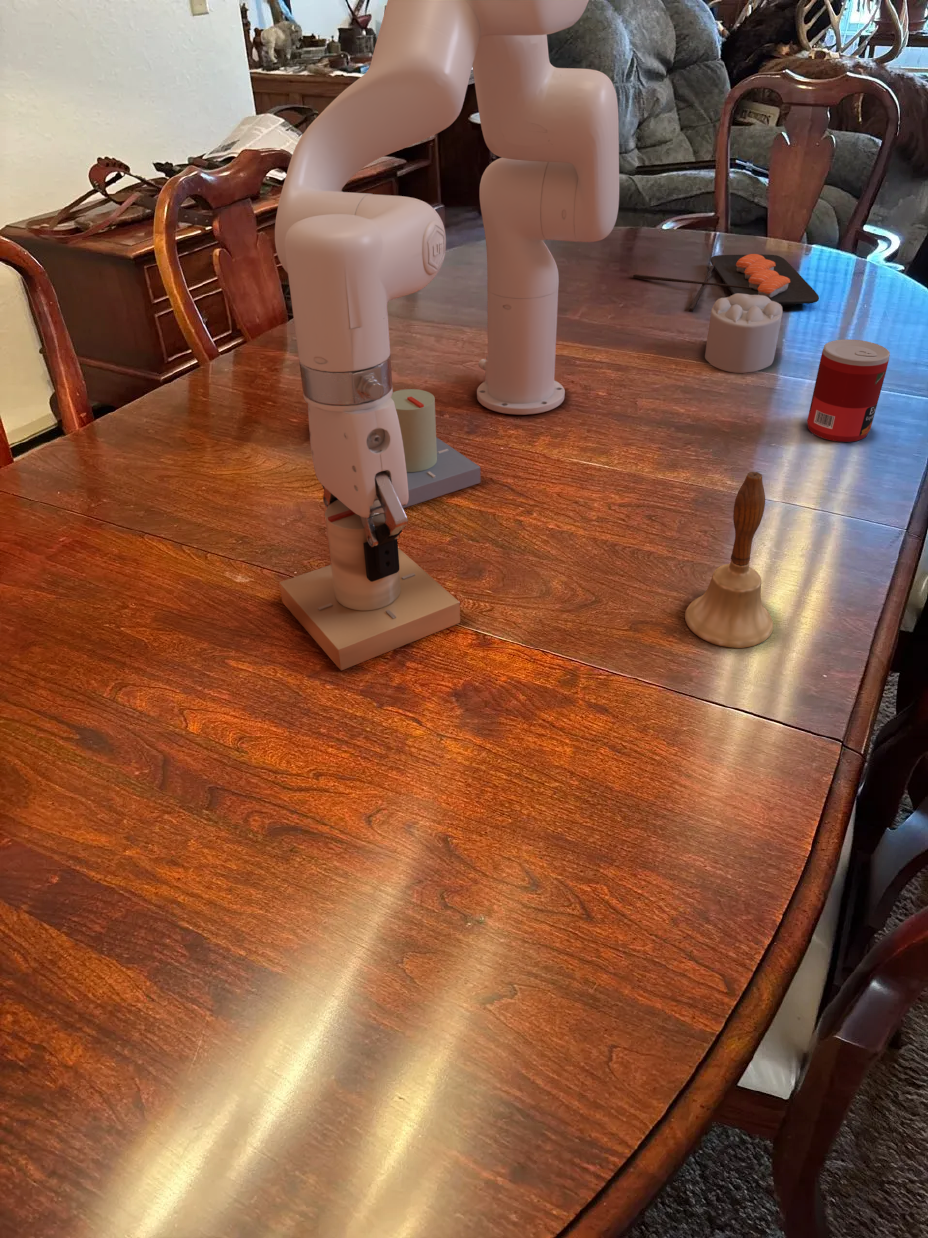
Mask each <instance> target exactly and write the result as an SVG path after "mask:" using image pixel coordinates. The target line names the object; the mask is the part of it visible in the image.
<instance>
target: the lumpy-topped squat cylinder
mask: <svg viewBox="0 0 928 1238" xmlns="http://www.w3.org/2000/svg"><path fill="white" fill-rule="evenodd" d="M782 318H783V307H782V306H781V304H779V303H777V302H774V301H771V300H770V299H769V298H768V297H766V296H763V295H748V294H740V293H737V294H734V295H733V294H732V295H730V296H727V297H720V298H718V299H717V300H716V301H715V302H714V304H713V305H712V308H711V311H710V318H709V324H708V331H707V338H706V346H705V351H704V352H705V353H704V359H705V360H706V362H708V363H709V364H710V365H711V366H713V367H714V368H717V369H719V370H722V371H725V372H729V373H736V374H737V373H738V374H742V373H746V374H747V373H753V372H758V371H761V370H763V369H766V368H768V367H770V366H771V365H772V364H773V363H774V360H775V356H776V350H777V345H778V341H779V334H780V329H781V323H782Z"/></svg>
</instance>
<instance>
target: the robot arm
mask: <svg viewBox="0 0 928 1238" xmlns="http://www.w3.org/2000/svg"><path fill="white" fill-rule="evenodd" d="M589 1H590V0H387V2H386V6H385V10H384V13H383V16H382V21H381V24H380V28H379V30H378V35H377V39H376V42H375V45H374V50H373V53H372V58H371V62H370V64H369V67H368V69H367V70H366V72H365V73H364V74H363V75H361V77H359V78H358V79H357V80H355V81H354V82H352V84H350V85H349V86H347V87H346V88H345V89H344V90H343V91H342V92H340V93H339V95H338V96H336V97H335V98H334V99H333V100H332V101H331V102H330V103H329V104H328V105H327V106H326V107H325V108H324V110H322V112H320V114H319V115H317V117H316V118H315V119H314V120H313V121H312V122H311V123H310V124H309V125H308V126H307V128H306V129H305V131H304V132H303V133H302V135H301V136H300V138H299V140H298V142H297V143H296V145H295V147H294V150H293V153H292V155H291V158H290V160H289V164H288V166H287V167H288V168H287V172H286V174H285V178H284V182H283V185H282V188H281V192H280V196H279V200H278V204H277V211H276V217H275V224H274V245H275V251H276V256H277V258H278V261H279V263H280V265H281V267H282V268H283V270H284V271H285V272H286V273H287V276H288V285H289V293H290V300H291V301H290V302H291V310H292V317H293V324H294V331H295V339H296V340H295V341H296V347H297V356H298V363H299V371H300V380H301V389H302V395H303V400H304V402H305V403H306V404H307V413H308V416H307V417H308V430H309V431H308V432H309V442H310V443H309V444H310V451H311V458H312V459H311V460H312V465H313V469H314V470H313V471H314V474H315V477H316V478H317V480H318V483H320V484H321V486H322V489H323V493H322V494H323V495H322V501H323V504H324V506H325V507H326V508H327V507H328V506H329V505H330V504H332V503H333V502H334V501H336V500H340V501H341V502H342V503H343V504H344V505H346V506H347V507H348V508H349V509H350V510H352V511H353V512H354V513H356V514H357V515H359V516H360V517H361V520H362V524H363V527H364V531H365V534H366V538H367V541H368V542H365V543H363V545H364V555H365V566H366V576H367V579H368V580H370V581H371V582H373V581H376V580H379V579H381V578H384V577H387V576H389V575H392V574H395V573H397V572H398V571H399V554H398V548H399V544H398V543H399V541H398V540H399V538H400V537H401V534H402V532H403V530H404V529H405V527H406V526H407V525H408V524H409V519H408V516H407V514H406V512H405V508H403V507H402V506H405V505H407V503H408V499H409V494H408V481H407V472H406V463H405V455H404V447H403V441H402V435H401V429H400V425H399V420H398V415H397V411H396V408H395V404H394V401H393V400H392V399H391V398H390V397H391V396H392V394H393V392H394V386H393V373H392V359H391V344H390V343H391V342H390V341H391V339H390V327H389V313H388V312H389V311H388V302H390V301H393V300H395V299H399V298H403V297H406V296H409V295H412V294H414V293H417V292H419V291H421V290H423V289H424V288H425V287H427V286H428V285H429V284H430V283H431V282H432V281H433V280H434V279H435V277H436V276H437V275H438V273H439V271H440V270H441V268H442V266H443V263H444V260H445V257H446V250H447V236H446V228H445V225H444V222H443V220H442V218H441V216H440V214H439V212H437V211H436V209H435V208H434V207H433V206H432V205H431V204H429V203H428V202H426V201H423V200H421V199H418V198H415V197H410V196H404V195H403V196H402V195H391V194H375V193H374V194H373V193H368V192H367V193H365V192H352V191H351V192H350V191H349V192H348V191H343V188H344V187H345V186H346V184H347V183H348V182H349V181H350V180H351V179H352V178H353V177H354V176H355V175H356V174H357V173H358V172H360V171H362V169H364V168H365V167H367V166H369V165H370V164H372V163H373V162H374V161H377V160H379V159H381V158H383V157H385V156H388V155H391V154H393V153H395V152H397V151H400V150H403V149H406V148H409V147H410V146H413V145H415V144H417V143H421V142H422V141H424V140H426V139H429V138H430V137H432V136H435V135H437V134H439V133H441V132H442V131H445V130H446V129H447V128H449V127H450V126H451V125H452V124H453V123H454V122H455V121H456V120H457V119H458V117H459V116H460V114H461V112H462V109H463V105H464V102H465V98H466V94H467V91H468V85H469V82H470V77H471V73H472V72H473V80H474V89H475V95H476V102H477V109H478V117H479V122H480V127H481V128H480V129H481V131H482V137H483V140H484V143H485V145H486V147H487V148H488V150H489V151H490V152H491V153H492V154H494V155H495V156H497V157H499V158H497V159H495V160H493V161H492V162H491V163H489V165H487V166H486V168H485V170H484V171H483V173H482V175H481V178H480V183H479V205H480V213H481V218H482V224H483V229H484V230H483V231H484V239H485V247H486V248H485V249H486V270H487V271H486V272H487V273H486V274H487V275H486V276H487V277H486V280H487V282H486V283H487V285H486V288H487V299H486V300H487V302H486V303H487V307H486V308H487V355H486V359H485V358H482V359H480V360H479V361H478V364H477V365H478V368H479V369H481V370H483V371H485V381H482V383H481V384H479V385H478V387H477V388H476V399H477V401H478V403H479V404H480V405H482V407H484V408H486V409H487V410H490V411H493V412H496V413H501V414H506V415H517V416H524V415H536V414H537V415H538V414H542V413H545V412H550V411H552V410H554V409H556V408H558V407H559V406H560V405H562V403H563V402H564V400H565V397H566V396H565V394H566V391H565V387H564V385H562V384H561V383H560V382H559V381H557V380H556V379H555V376H556V355H557V354H556V353H557V351H556V350H557V328H558V304H559V283H560V282H559V280H560V279H559V278H560V277H559V276H560V275H559V269H558V266H557V262H556V260H555V258H554V256H553V254H552V252H551V251H550V249H549V248H548V246H547V244H546V243H545V241H558V242H559V241H560V242H561V241H562V242H575V243H595V242H599V241H600V242H601V241H602V240H604V239H605V238H607V237H608V236H609V235H610V234H611V232H613V229H614V227H615V226H616V222H617V218H618V214H619V206H620V142H619V140H620V137H619V135H620V134H619V133H620V127H619V123H620V122H619V106H618V105H619V104H618V95H617V92H616V89H615V85H614V84H613V82H612V80H611V79H610V77H609V76H608V75H607V74H605V73H604V72H602V71H599V70H596V69H591V68H576V67H575V68H571V67H568V68H567V67H556V66H554V65H553V64H551V62H550V56H549V44H548V35H551V34H556V33H559V32H561V31H563V30H566V29H569V28H571V27H573V26H574V25H575V24H576V23H577V22H578V21H579V20H580V19H581V17H582V16H583V14H584V12H585V11H586V8H587V6H588V3H589ZM341 190H342V191H343V192H341ZM377 500H379V502H380V504H381V506H378V507H375V508H372V509H370V506H373V503H374V501H377ZM380 514H384V518H385V523H384V524H382V525H380V526H379V527H378V528H377V529H376V530H375V527H374V524H373V520H372V517H374V516H377V515H380Z"/></svg>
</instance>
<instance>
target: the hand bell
mask: <svg viewBox="0 0 928 1238" xmlns="http://www.w3.org/2000/svg"><path fill="white" fill-rule="evenodd" d="M763 481H764V480H763V474H762V473H760V472H758V471H749V472H748V473H747V474H746V476H745V479H744V481H743V482H742V485H741V486H740V487H739V490H738V491H737V494H736V496H735V500H734V503H733V513H732V514H733V515H732V518H733V519H732V520H733V527H734V534H735V535H734V536H735V537H734V543H733V547H732V551H731V555H730V563H725V564H722V565H719V566H718V567H717V568H716V569H714V571H713V573H712V576H711V578H710V581H709V585H708V586H707V588H706V591H704V593H703V595H700V596H699V597H696V598H695V599H693V601H692V602H691V603H689V605H688V606H687V607H686V610H685V612H684V620H685V623H686V625H687V627H688V628H689V630H690V631H691V632H692V633H693V634H694V635H696V636H697V637H698V638H700V639H701V640H703V641H706V642H707V643H710V644H713V645H715V646H719V647H724V648H734V649H742V648H750V647H754V646H756V645H757V646H758V645H759V644H762V643H763V642H765V641H766V640H767V639H769V638H770V637H771V636H772V633H773V631H774V622H773V618H772V616H771V614H770V612H769V611H768V610H767V608H766V607H765V606H764V605H763V602H762V577H761V575H760V574H759V572H758V571H757V570H756V569H754V568H752V567H750V563H751V562H750V561H751V553H752V545H753V540H754V536H755V534H756V532H757V531H758V528H759V527H760V525H761V523H762V519H763V517H764V513H765V509H766V507H765V506H766V505H765V504H766V493H765V487H764V483H763Z"/></svg>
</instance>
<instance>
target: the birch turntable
mask: <svg viewBox="0 0 928 1238" xmlns="http://www.w3.org/2000/svg"><path fill="white" fill-rule="evenodd" d="M398 554H399V574H400V588H401V590H400V594H399V596H398V597H397V599H396V600H395V601H394V602H392V603H391V604H389V605H387V606H385V607H382V608H379V609H375V610H364V611H363V610H354V609H350V608H347V607H345V606H343V605H341V604H340V603H339V602H338V601H337V599H336V597H335V592H334V584H333V576H332V568H331V564H329V565H325V566H322V567H319V568H316V569H314V570H311V571H308V572H305V573H303V574H300V575H297V576H293V577H291V578H288V579H285V580H282V581H280V582H278V583H279V589H280V595H281V601H282V604H283V605H284V606H285V608H287V610H288V611H289V612H290V613H291V614H292V616H293V617H294V618H295V619H296V620H297V621H298V623H299V624H300V625H301V626H302V627H303V628H304V629H305V631H306V632H307V633H308V634H309V636H310V637H311V638H312V639H313V640H314V642H315V643H316V644H317V645H318V646H319V647H320V648H321V649H322V651H323V652H324V653H325V654H326V656H327V657H328V658H329V659H330V660H331V661H332V663H333V664H335V666H336V667H337V668H338V669H339V670H340V671H341V672H342V671H345V670H347V669H349V668H352V667H354V666H356V665H358V664H361V663H362V664H363V663H364V662H366V661H369V660H371V659H374V658H376V657H379V656H381V655H383V654H384V655H385V654H387V653H389V652H391V651H393V650H396V649H398V648H399V649H400V648H401V647H403V646H405V645H409V644H411V643H413V642H416V641H419V640H421V639H423V638H427V637H428V636H431V635H434V634H437V633H438V632H441V631H443V630H446V629H448V628H451V627H453V626H456V625H458V624H460V623H461V602H460V601H459V600H458V599H457V598H456V597H455V596H453V595H452V594H451V593H450V592H449V591H448V590H447V589H446V588H444V587H443V585H441V584H440V583H439V582H438V581H437V580H435V579H434V577H432V576H431V575H430V574H428V572H426V571H425V569H423V568H422V567H420V566H419V564H418V563H416V562H415V561H414V560H413V559H412V558H411V557H409V556H408V555H407V554H406V553H405V552H404V551H403V550H401V549H400V548H399V547H398Z"/></svg>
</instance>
